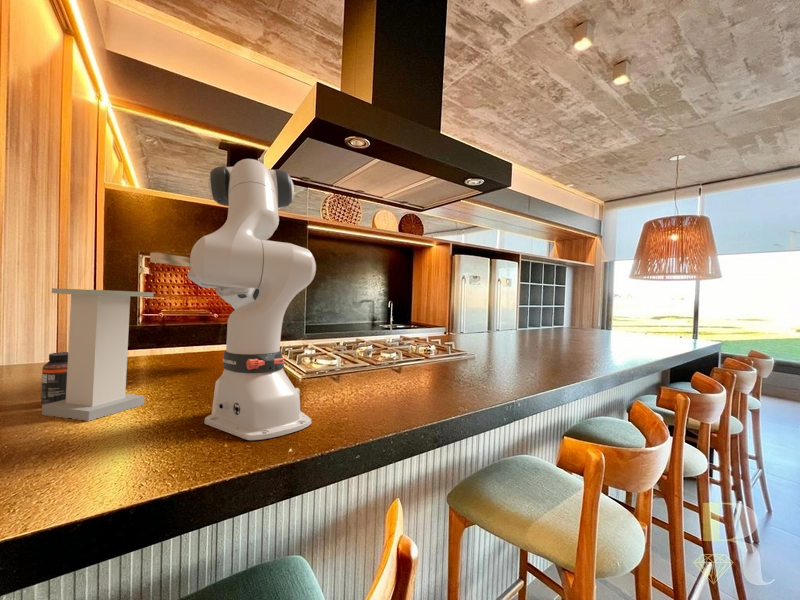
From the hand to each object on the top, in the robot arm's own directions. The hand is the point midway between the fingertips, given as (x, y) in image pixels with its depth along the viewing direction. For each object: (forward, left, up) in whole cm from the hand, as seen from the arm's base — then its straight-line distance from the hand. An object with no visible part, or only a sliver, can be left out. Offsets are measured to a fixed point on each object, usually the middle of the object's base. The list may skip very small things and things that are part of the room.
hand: (205, 263), depth 105 cm
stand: (-15, +26, -35) cm, 46 cm away
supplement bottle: (-5, +31, -36) cm, 47 cm away
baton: (-3, +5, -2) cm, 7 cm away
